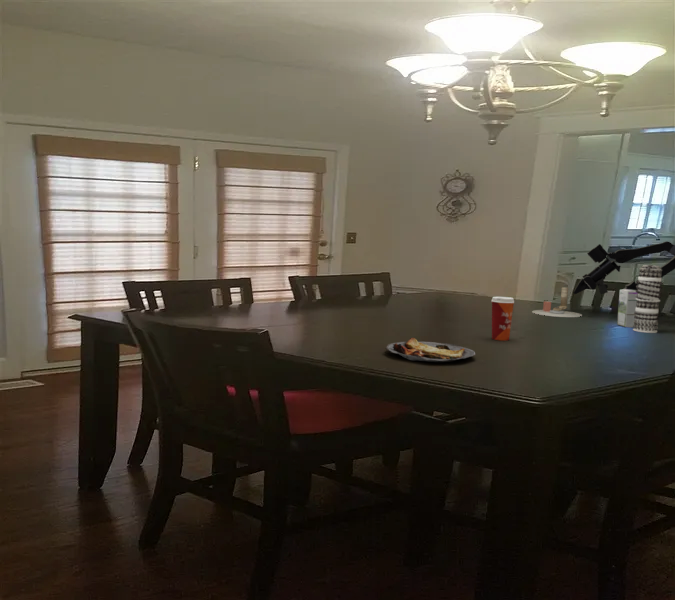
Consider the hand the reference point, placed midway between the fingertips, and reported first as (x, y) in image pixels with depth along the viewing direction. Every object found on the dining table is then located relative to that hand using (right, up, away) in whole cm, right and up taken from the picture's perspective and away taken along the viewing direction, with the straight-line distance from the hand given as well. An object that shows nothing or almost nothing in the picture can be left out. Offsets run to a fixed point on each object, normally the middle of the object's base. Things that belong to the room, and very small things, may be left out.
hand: (574, 293), depth 296 cm
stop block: (-12, -8, +1) cm, 15 cm away
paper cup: (-52, -16, -76) cm, 94 cm away
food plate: (-80, -19, -108) cm, 136 cm away
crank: (-7, -7, -2) cm, 10 cm away
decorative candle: (+10, -15, -47) cm, 50 cm away
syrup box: (+8, -14, -36) cm, 39 cm away
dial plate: (-10, -9, -6) cm, 15 cm away
